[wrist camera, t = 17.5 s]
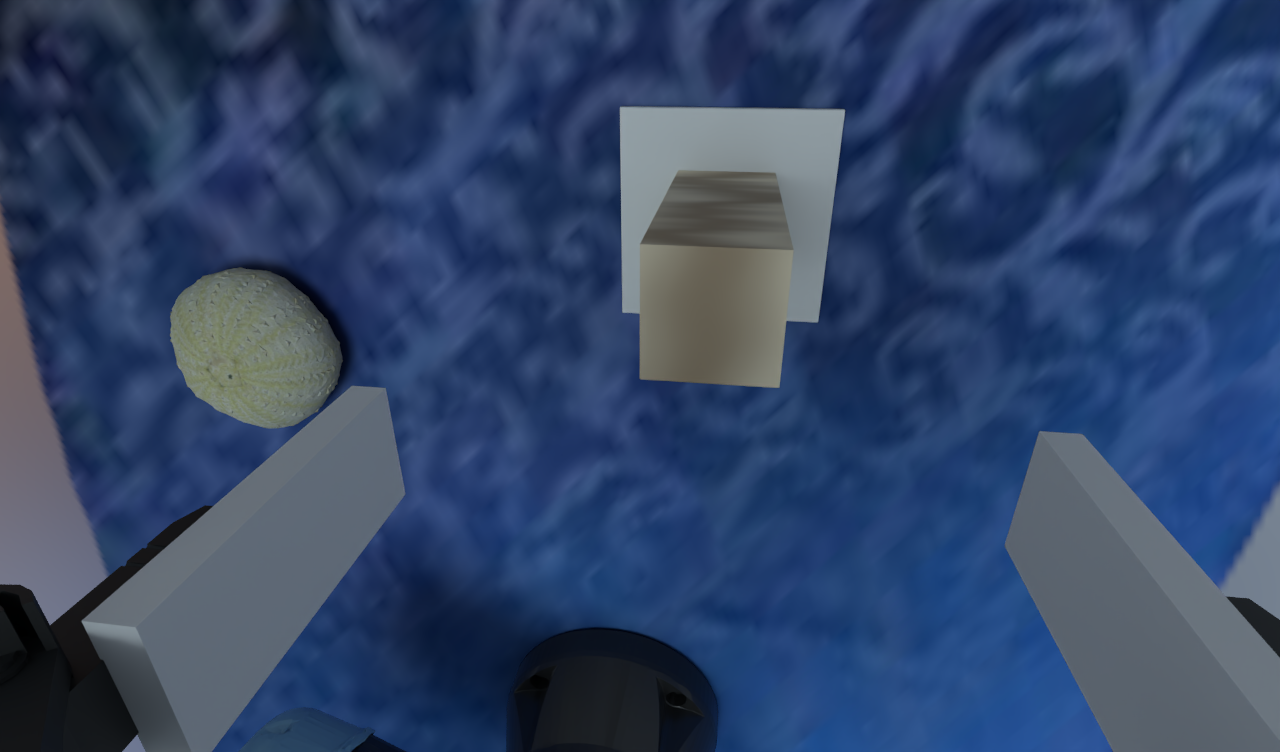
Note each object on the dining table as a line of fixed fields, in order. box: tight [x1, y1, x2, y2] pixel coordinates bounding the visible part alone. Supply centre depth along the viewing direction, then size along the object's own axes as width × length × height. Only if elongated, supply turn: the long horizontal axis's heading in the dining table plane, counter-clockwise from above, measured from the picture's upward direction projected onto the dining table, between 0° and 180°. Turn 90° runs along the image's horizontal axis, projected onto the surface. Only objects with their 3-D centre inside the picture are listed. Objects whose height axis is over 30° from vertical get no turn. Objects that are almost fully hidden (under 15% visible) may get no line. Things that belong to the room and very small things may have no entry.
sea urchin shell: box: [170, 267, 343, 428], centre depth 38 cm, size 9×8×8 cm
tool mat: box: [620, 106, 845, 322], centre depth 33 cm, size 10×10×1 cm
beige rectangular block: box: [640, 170, 794, 388], centre depth 26 cm, size 4×4×13 cm
